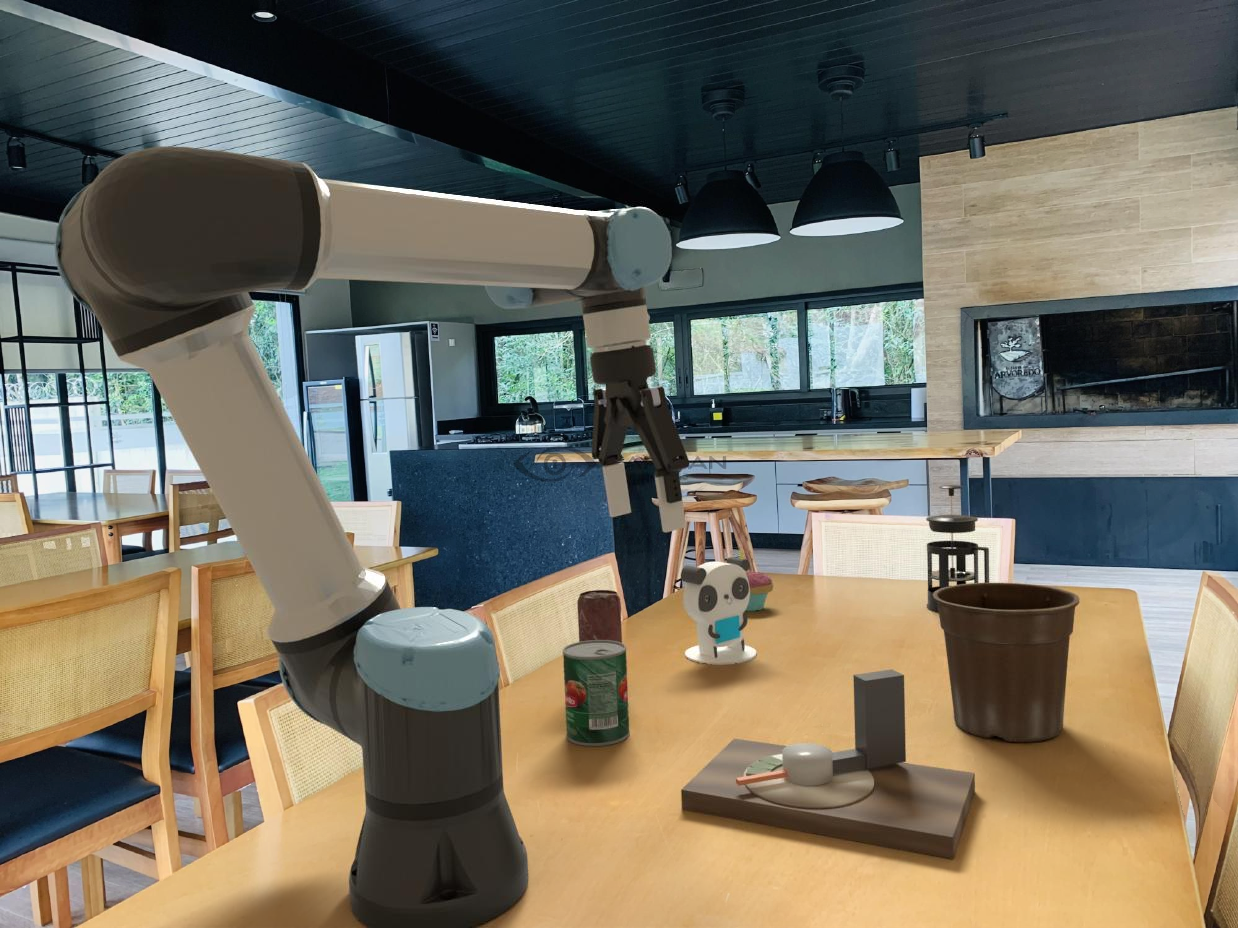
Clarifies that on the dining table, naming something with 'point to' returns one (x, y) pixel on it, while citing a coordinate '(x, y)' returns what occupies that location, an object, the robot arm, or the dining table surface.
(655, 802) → the dining table surface
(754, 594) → the cupcake
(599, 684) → the canned tomato
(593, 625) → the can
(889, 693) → the dial crank
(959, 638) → the plant pot
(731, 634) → the panda figurine
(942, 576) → the french press
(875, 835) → the dial board
